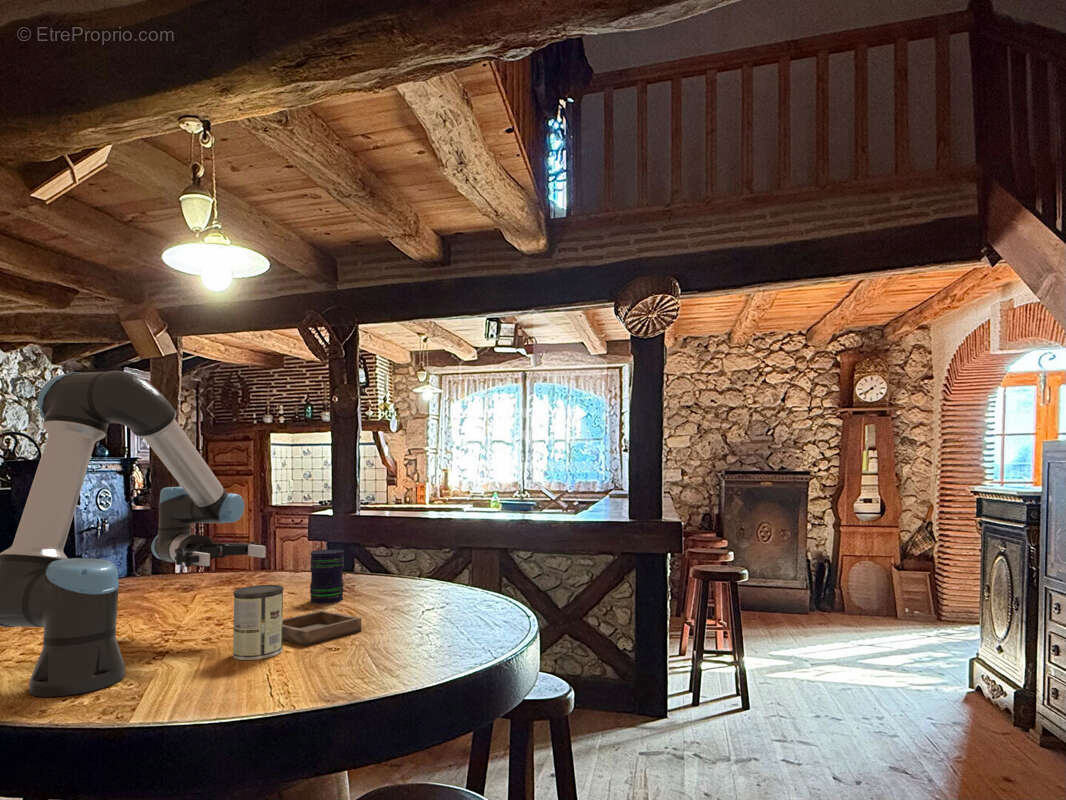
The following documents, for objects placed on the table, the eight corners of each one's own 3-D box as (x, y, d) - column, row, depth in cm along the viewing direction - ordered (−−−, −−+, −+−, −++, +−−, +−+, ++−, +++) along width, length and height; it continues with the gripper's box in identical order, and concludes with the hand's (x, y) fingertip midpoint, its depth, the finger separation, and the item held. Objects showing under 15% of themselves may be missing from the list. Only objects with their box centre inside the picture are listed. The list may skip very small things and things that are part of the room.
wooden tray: (361, 631, 161) (361, 618, 162) (305, 646, 149) (305, 632, 149) (322, 622, 171) (322, 610, 171) (266, 636, 158) (266, 623, 158)
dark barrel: (315, 605, 192) (316, 554, 194) (305, 600, 200) (306, 551, 201) (348, 601, 198) (348, 551, 199) (337, 596, 206) (337, 548, 207)
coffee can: (243, 647, 149) (244, 585, 150) (289, 646, 149) (290, 583, 150) (223, 661, 138) (225, 593, 140) (272, 660, 139) (273, 592, 140)
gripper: (239, 557, 174) (285, 564, 161) (138, 572, 154) (181, 581, 141) (240, 529, 175) (285, 533, 162) (139, 540, 155) (182, 546, 142)
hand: (237, 555), depth 152 cm, fingers open, 13 cm apart
